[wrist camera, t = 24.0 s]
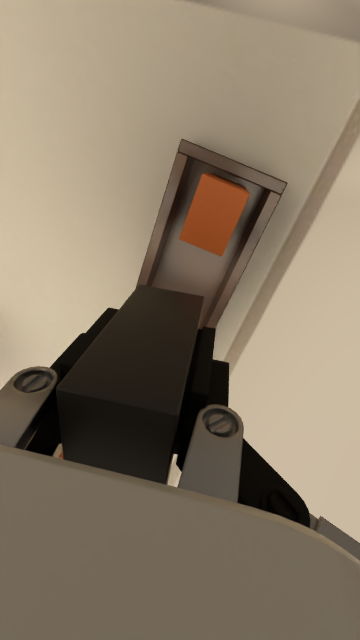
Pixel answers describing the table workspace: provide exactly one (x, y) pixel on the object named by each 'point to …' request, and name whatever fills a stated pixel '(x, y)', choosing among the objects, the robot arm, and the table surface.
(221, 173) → the holder
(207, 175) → the orange tall block
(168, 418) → the black block
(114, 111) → the table surface
